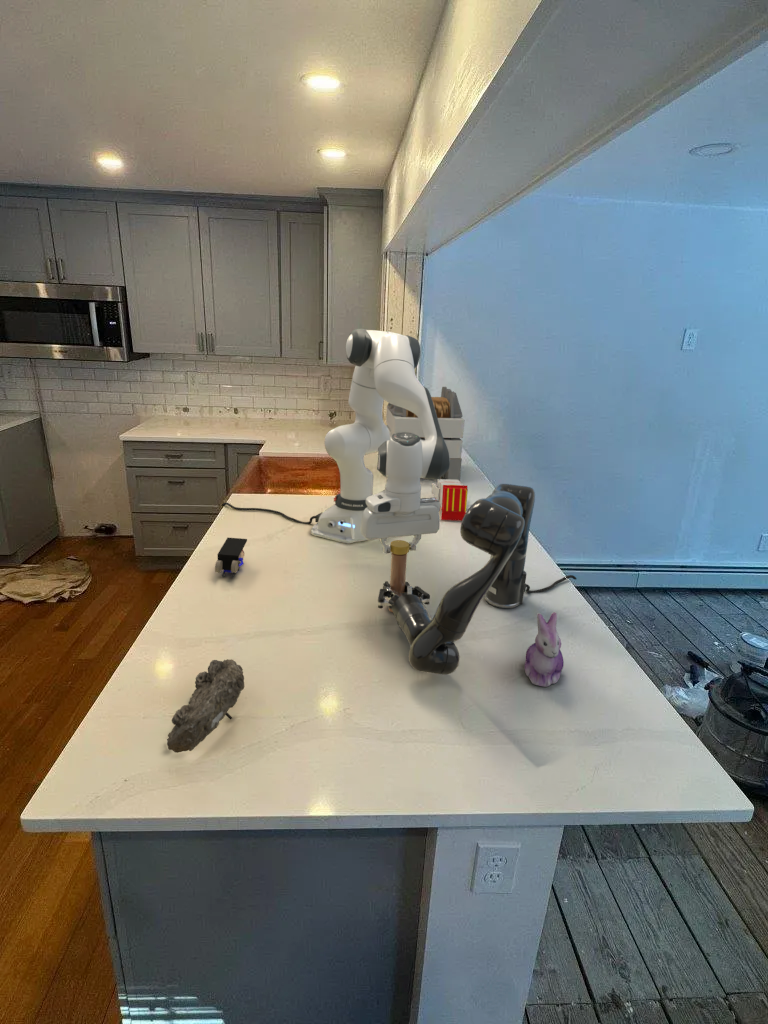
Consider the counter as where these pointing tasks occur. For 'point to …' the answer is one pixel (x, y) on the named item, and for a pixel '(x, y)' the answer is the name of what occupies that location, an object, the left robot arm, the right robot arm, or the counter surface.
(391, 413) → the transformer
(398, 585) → the bottle
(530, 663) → the figurine
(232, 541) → the black toy vehicle
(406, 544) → the lid
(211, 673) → the fossil
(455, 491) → the toy
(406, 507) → the left robot arm
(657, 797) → the counter surface
